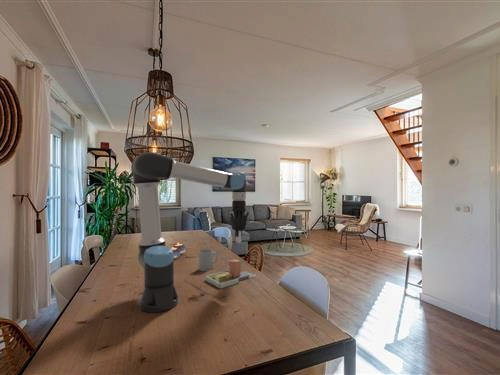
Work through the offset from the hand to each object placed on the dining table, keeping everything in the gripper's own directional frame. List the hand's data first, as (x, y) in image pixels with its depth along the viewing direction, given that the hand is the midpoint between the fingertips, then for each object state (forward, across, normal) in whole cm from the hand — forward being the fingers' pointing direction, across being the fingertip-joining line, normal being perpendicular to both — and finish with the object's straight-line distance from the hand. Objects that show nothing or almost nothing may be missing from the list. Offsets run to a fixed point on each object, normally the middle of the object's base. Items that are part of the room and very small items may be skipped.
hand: (238, 242), depth 141 cm
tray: (+19, -14, -4) cm, 24 cm away
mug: (+19, -6, +22) cm, 29 cm away
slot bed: (+19, -1, -4) cm, 19 cm away
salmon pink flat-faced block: (+17, -5, -4) cm, 19 cm away
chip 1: (+18, -14, -4) cm, 24 cm away
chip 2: (+18, -10, -4) cm, 21 cm away
